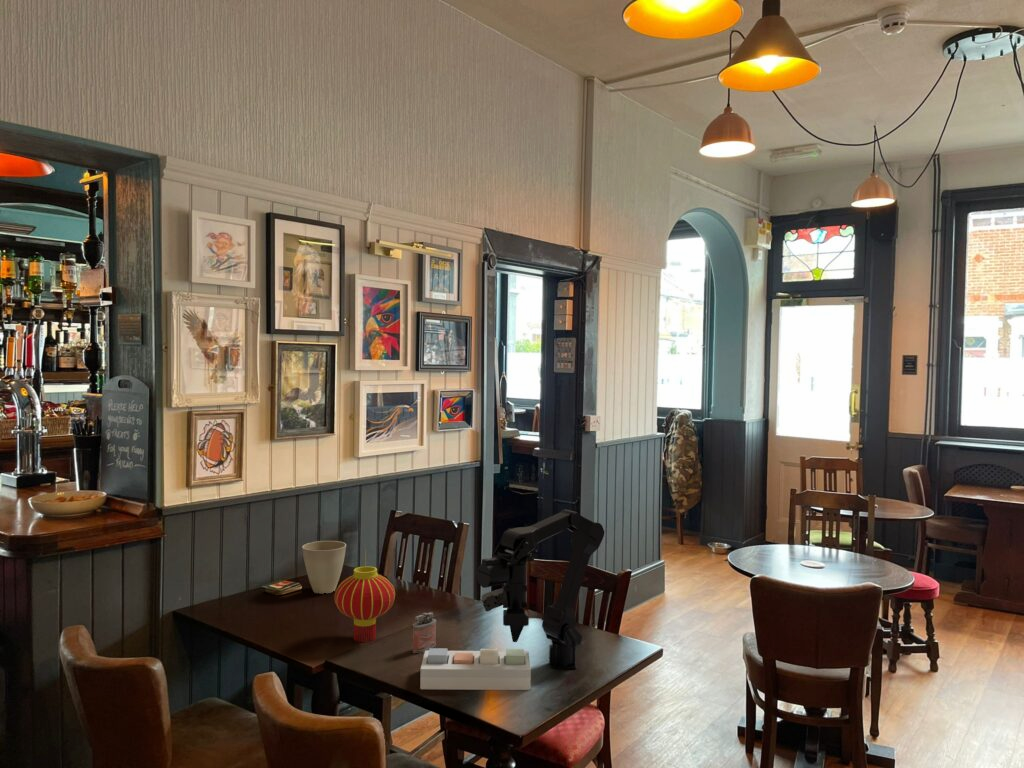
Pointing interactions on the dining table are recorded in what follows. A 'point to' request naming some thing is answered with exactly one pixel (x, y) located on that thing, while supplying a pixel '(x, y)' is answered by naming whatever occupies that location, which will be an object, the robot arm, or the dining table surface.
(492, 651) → the key cream
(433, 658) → the key slate
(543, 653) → the dining table surface
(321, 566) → the plant pot
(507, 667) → the keypad
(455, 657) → the key terracotta
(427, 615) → the lighter
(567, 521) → the robot arm
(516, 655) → the key sage
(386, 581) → the lantern
